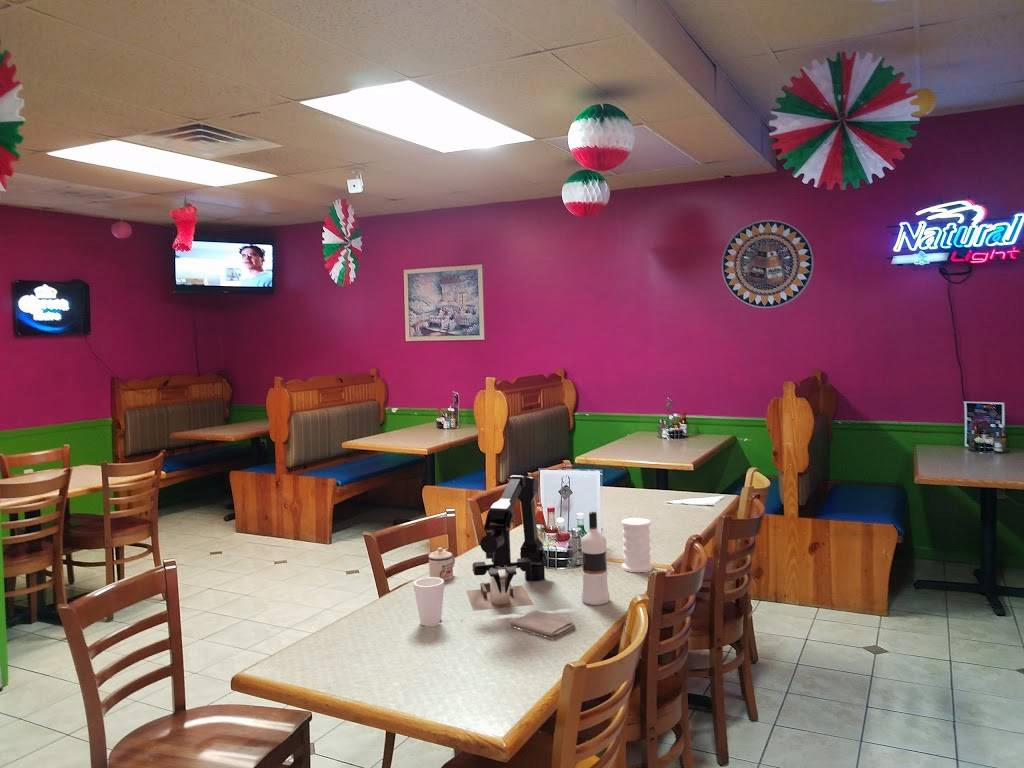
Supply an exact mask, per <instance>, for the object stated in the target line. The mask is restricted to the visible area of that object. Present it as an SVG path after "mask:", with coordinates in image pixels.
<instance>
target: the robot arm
mask: <svg viewBox="0 0 1024 768" xmlns="http://www.w3.org/2000/svg"><path fill="white" fill-rule="evenodd" d="M539 486H540V484H539V481H538V479H537V478H536V477H535V476H524V475H522V474H521V475H520V474H519V475H518V474H517V475H516V474H515V475H514V474H512V475H510V476H509V478H508V483H507V485H506V487H505V489H504V491H503V493H502V494H501V497H500V499H498V500H497V501H495V502H494V503H492V504H491V506H490V507H489V509H488V510H487V514H486V518H485V523H484V526H483V527H484V529H483V530H484V531H485V535H484V536H482V538H481V539H480V543H479V545H480V548H481V550H482V551H483V553H485V559H486V560H490V559H491V564H490V563H489V564H486V562H485V561H475V562H473V563H472V572H473V575H474V576H484V575H486V574H487V573H488V575H489V577H490V576H491V577H494V579H495V581H496V584H497V587H498V589H499V592H500V593H501V584H500V576H499V573H498V572H499V571H500V570H504V572H505V593H507V590H508V587H509V584H511V581H512V580H513V578H514V577H515V575H517V574H518V573H517V569H520V571H522V572H524V580H525V581H526V582H539V581H540V582H541V581H544V580H545V579H546V577H545V572H546V571H545V567H547V566H549V557H548V554H547V553H546V551H545V549H544V544H543V542H542V541H541V540H540V538H539V537H538V528H537V527H538V526H537V515H536V505H535V499H536V496H537V495H538V492H539V491H538V490H539ZM517 500H519V503H520V506H521V508H520V509H521V516H522V517H521V518H522V528H523V536H524V537H523V538H524V540H523V543H522V545H521V546H520V547H519V548H520V552H519V553H520V554H519V555H520V558H516V561H515V562H514V561H512V562H511V560H512V559H511V534H510V533H511V532H510V531H511V530H510V529H511V527H512V525H513V519H514V512H513V508H514V505H515V503H516V501H517Z"/></svg>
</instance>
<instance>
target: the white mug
mask: <svg viewBox="0 0 1024 768" xmlns="http://www.w3.org/2000/svg"><path fill="white" fill-rule="evenodd" d="M498 573H499V576H500V584H501V593H500V592H499V589H498V587H497V584H496V581H495V579H494V577H491V576H490V575H489V582H490V591H491V603H493V604H496V605H503V604H507V603H509V602H510V584H511V583H510V584H509V587H508V590H507V593H505V571H500V570H499V571H498Z"/></svg>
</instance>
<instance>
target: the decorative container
mask: <svg viewBox="0 0 1024 768" xmlns="http://www.w3.org/2000/svg"><path fill="white" fill-rule="evenodd" d="M651 522H652V521H651V520H650V519H648V518H643V517H629V518H624V519H622V520H621V521H620V523H621V526H622V527H623V530H622V535H623V538H622V542H623V547H622V550H623V560H624V562H623V563H622V564H621V569H622V571H624V570H626V571H630V572H629V573H631V572H645V573H649V572H651V571H653V570H652V569H654V564H653V563H652V562H651V561H650V560H651V558H652V557H651V554H650V552H651V545H650V543H651V539H650V534H651V531H650V530H651V529H649V528H650V526H651V525H652V523H651ZM649 570H650V571H649ZM626 571H625V572H626ZM648 571H649V572H648Z"/></svg>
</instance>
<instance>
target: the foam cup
mask: <svg viewBox="0 0 1024 768" xmlns="http://www.w3.org/2000/svg"><path fill="white" fill-rule="evenodd" d="M444 589H445V580H443V579H441V578H437V577H430V576H429V577H422V578H419V579H416V580H415V581H413V592H414V594H415V599H416V606H417V611H418V618H419V622H420V625H421V624H422V626H423V625H425V626H424V627H434V626H433V625H435V626H438V625H439V623H440V624H441V622H442V621H441V620H442V615H443V613H442V612H443V601H444ZM437 624H438V625H437Z"/></svg>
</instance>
